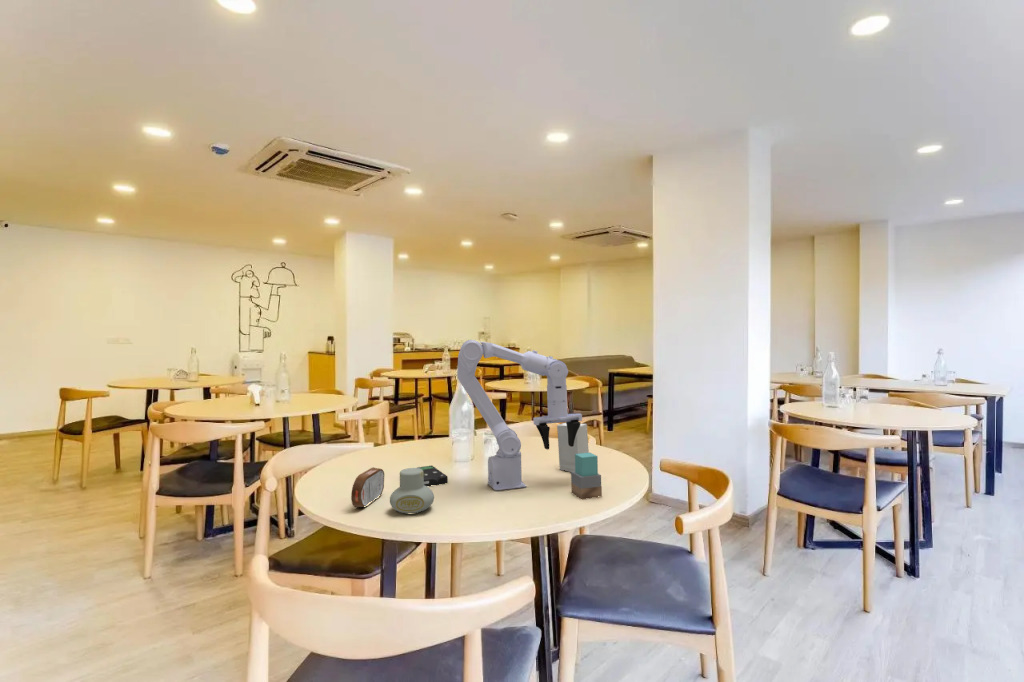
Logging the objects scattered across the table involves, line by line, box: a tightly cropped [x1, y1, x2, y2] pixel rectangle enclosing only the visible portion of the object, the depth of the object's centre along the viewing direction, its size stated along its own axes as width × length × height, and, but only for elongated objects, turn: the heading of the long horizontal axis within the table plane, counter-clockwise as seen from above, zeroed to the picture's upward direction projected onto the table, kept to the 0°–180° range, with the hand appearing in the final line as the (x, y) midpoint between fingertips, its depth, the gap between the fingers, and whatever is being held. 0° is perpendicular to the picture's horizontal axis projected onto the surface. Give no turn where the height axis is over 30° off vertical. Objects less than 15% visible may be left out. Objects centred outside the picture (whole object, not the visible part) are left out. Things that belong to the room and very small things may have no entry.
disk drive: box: [416, 465, 449, 487], centre depth 154 cm, size 10×3×15 cm
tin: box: [350, 467, 385, 508], centre depth 134 cm, size 15×3×8 cm, turn 170°
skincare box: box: [556, 422, 590, 473], centre depth 161 cm, size 8×6×15 cm
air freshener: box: [389, 467, 435, 514], centre depth 127 cm, size 11×8×10 cm
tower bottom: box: [570, 483, 603, 500], centre depth 137 cm, size 6×6×3 cm
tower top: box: [570, 471, 602, 489], centre depth 137 cm, size 6×6×3 cm
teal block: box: [575, 452, 599, 477], centre depth 137 cm, size 4×4×5 cm
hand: (559, 447), depth 148 cm, fingers open, 7 cm apart
